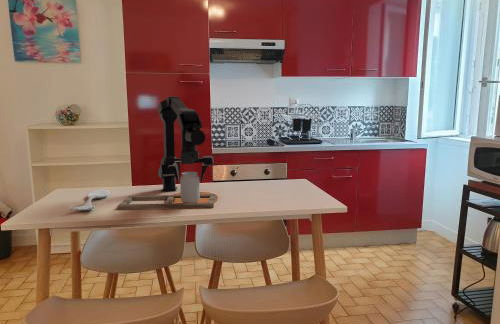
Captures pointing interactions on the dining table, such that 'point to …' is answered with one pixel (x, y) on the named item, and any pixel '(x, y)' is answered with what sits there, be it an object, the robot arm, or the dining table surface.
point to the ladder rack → (167, 204)
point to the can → (190, 187)
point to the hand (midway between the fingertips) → (190, 182)
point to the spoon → (91, 195)
